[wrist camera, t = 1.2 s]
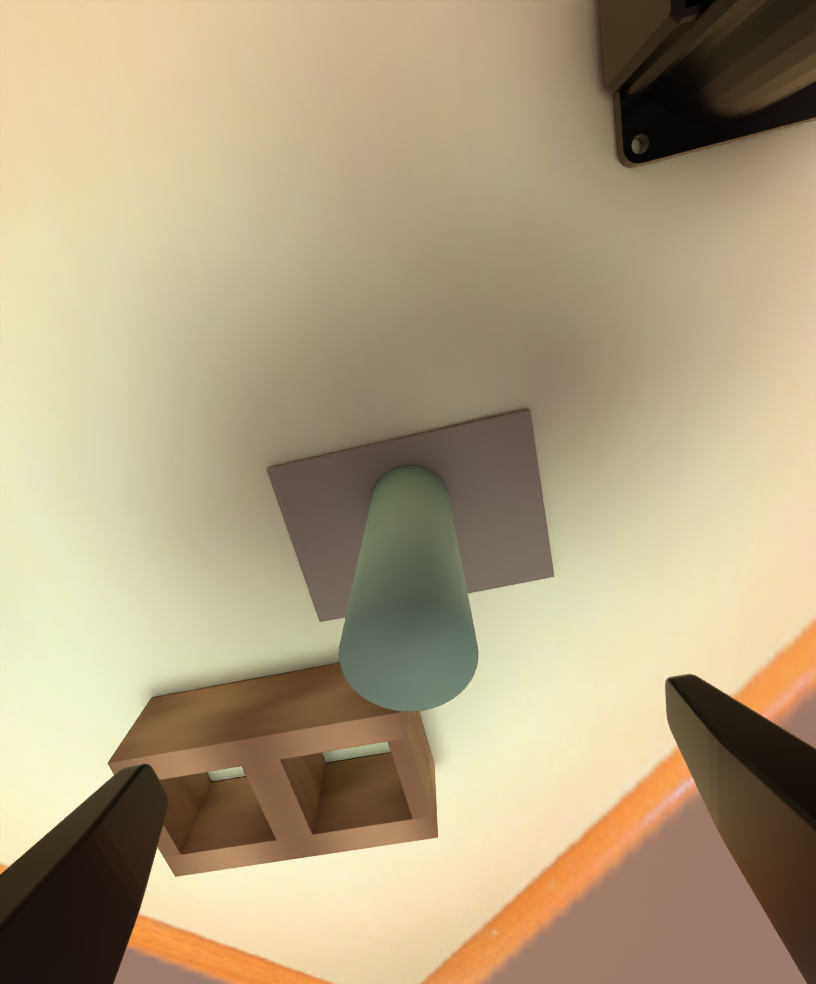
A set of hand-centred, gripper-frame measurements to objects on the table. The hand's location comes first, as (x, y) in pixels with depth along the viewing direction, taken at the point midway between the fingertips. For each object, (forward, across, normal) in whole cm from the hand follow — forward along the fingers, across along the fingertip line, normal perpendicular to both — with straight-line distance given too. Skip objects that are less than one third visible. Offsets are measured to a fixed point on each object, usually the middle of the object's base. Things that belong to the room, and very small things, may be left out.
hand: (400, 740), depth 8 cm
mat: (+12, 0, +1) cm, 12 cm away
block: (+12, +8, +11) cm, 18 cm away
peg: (+11, 0, 0) cm, 11 cm away
